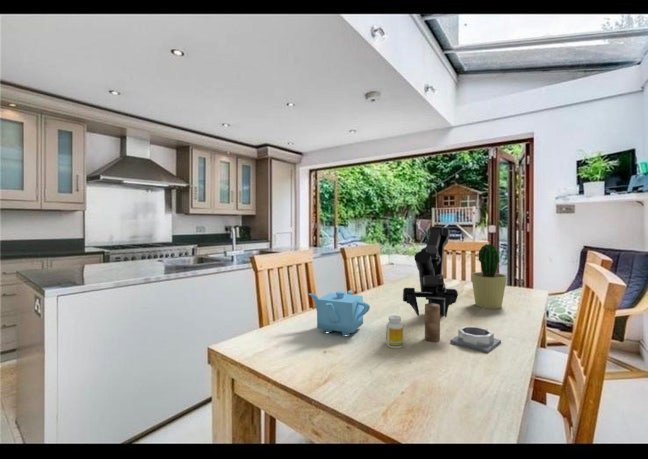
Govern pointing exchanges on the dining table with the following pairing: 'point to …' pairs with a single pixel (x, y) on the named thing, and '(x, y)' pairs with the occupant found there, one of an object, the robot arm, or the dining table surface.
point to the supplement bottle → (394, 332)
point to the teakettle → (340, 311)
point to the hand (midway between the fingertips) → (432, 316)
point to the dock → (480, 348)
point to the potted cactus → (488, 280)
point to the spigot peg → (432, 322)
